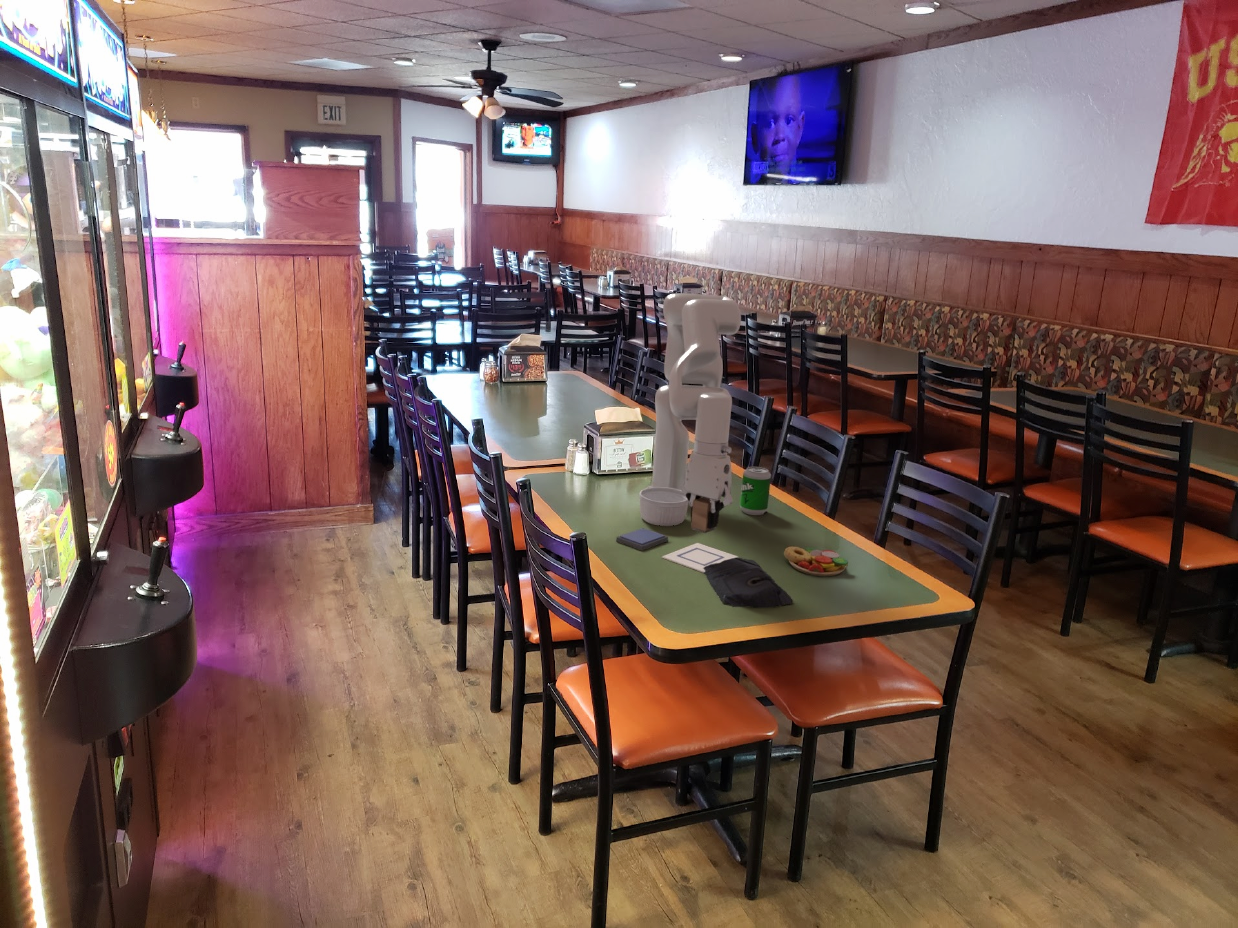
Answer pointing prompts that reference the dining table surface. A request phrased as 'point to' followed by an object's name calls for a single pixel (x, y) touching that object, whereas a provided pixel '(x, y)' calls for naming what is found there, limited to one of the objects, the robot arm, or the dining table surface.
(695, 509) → the stamp
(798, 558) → the toy food set
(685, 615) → the dining table surface
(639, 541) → the ink pad
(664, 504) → the ramekin
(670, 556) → the sheet
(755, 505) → the soda can
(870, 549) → the dining table surface
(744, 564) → the black fabric pouch
